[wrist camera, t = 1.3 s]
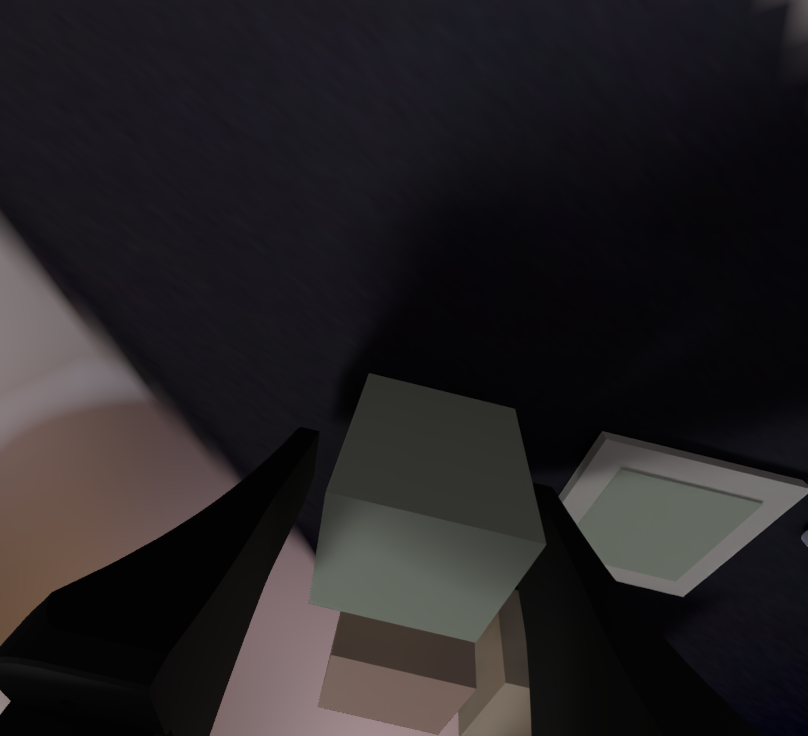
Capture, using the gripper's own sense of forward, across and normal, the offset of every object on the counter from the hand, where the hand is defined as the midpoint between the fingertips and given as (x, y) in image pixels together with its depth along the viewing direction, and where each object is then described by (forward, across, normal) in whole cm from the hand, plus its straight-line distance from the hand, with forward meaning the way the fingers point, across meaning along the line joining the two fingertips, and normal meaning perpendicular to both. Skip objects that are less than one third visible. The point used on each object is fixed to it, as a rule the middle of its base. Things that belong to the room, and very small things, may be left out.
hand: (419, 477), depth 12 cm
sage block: (+2, 0, 0) cm, 2 cm away
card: (+2, -9, +1) cm, 9 cm away
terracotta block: (+2, -1, +8) cm, 8 cm away
